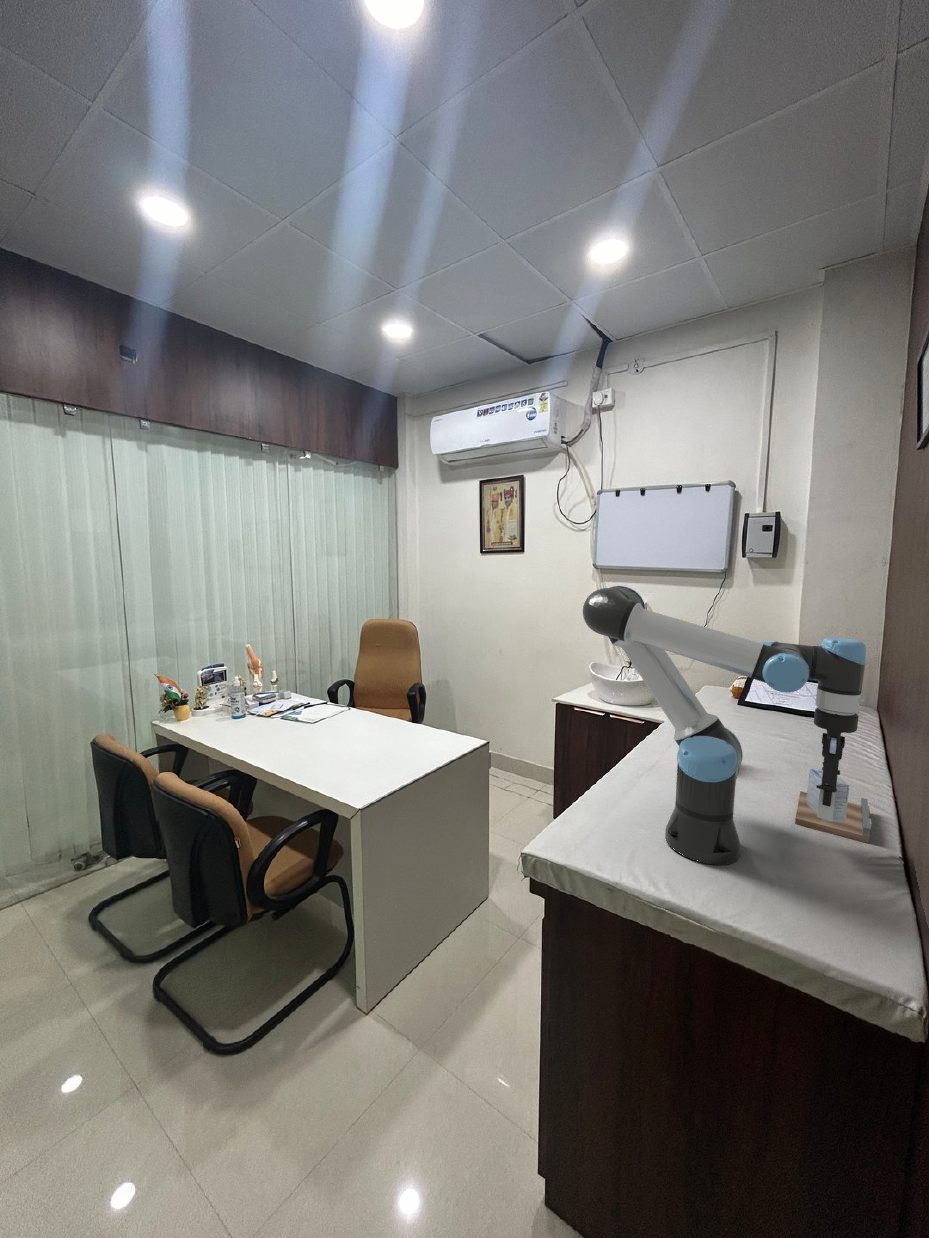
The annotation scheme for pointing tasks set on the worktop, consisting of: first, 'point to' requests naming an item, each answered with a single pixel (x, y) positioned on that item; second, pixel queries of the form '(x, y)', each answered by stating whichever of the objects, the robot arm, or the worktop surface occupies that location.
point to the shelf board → (853, 828)
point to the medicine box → (840, 796)
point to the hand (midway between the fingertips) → (825, 809)
